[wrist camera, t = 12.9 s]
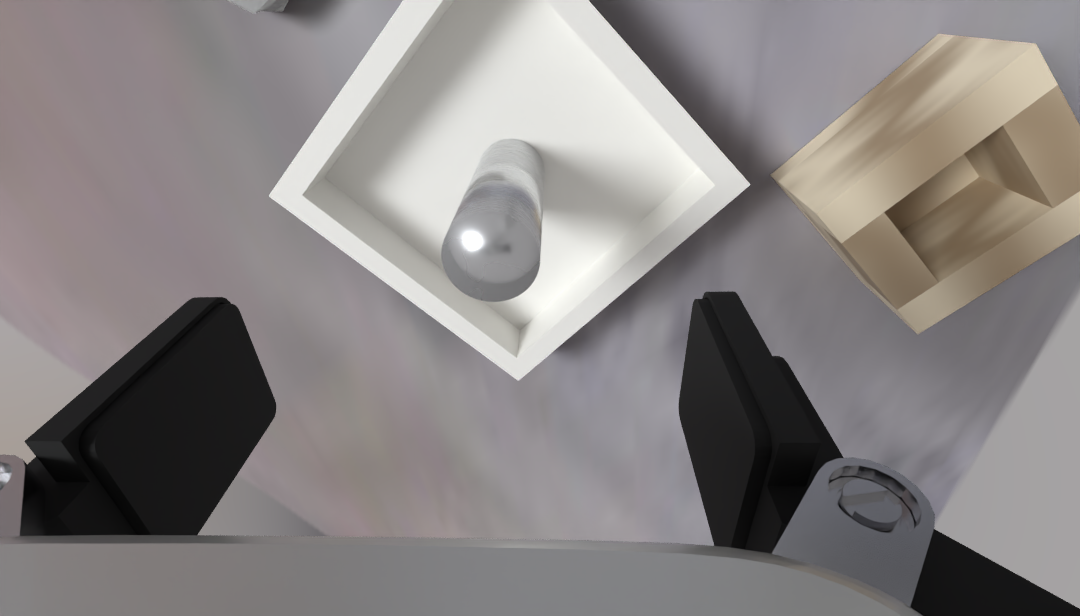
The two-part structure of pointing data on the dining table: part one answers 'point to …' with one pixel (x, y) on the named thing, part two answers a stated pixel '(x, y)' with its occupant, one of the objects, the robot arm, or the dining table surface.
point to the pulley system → (260, 5)
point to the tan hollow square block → (945, 176)
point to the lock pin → (498, 225)
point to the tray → (495, 114)
